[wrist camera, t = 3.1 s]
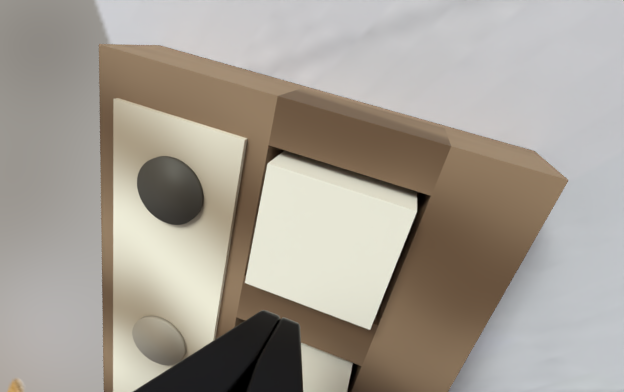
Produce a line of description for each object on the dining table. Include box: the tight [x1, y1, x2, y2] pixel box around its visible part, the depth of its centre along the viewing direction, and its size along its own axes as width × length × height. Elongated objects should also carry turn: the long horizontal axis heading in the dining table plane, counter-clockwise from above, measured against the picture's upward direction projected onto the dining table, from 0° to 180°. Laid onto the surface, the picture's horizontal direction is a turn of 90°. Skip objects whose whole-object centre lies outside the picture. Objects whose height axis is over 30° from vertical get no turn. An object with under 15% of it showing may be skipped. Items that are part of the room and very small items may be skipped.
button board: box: [99, 44, 568, 392], centre depth 16 cm, size 22×14×3 cm, turn 166°
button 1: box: [245, 150, 417, 330], centre depth 13 cm, size 4×4×3 cm
